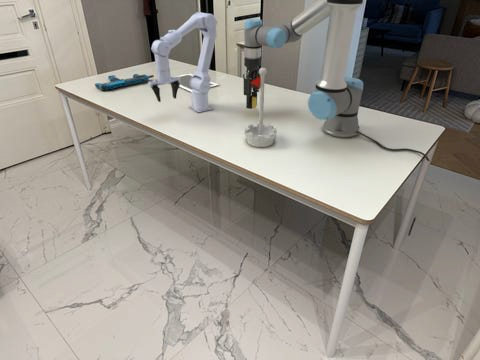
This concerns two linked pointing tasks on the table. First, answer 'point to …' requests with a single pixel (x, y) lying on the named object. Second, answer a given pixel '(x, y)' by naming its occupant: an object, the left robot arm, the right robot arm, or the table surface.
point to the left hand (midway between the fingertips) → (167, 99)
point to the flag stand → (260, 120)
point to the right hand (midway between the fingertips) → (251, 106)
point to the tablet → (186, 82)
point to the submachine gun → (122, 81)
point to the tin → (253, 102)
